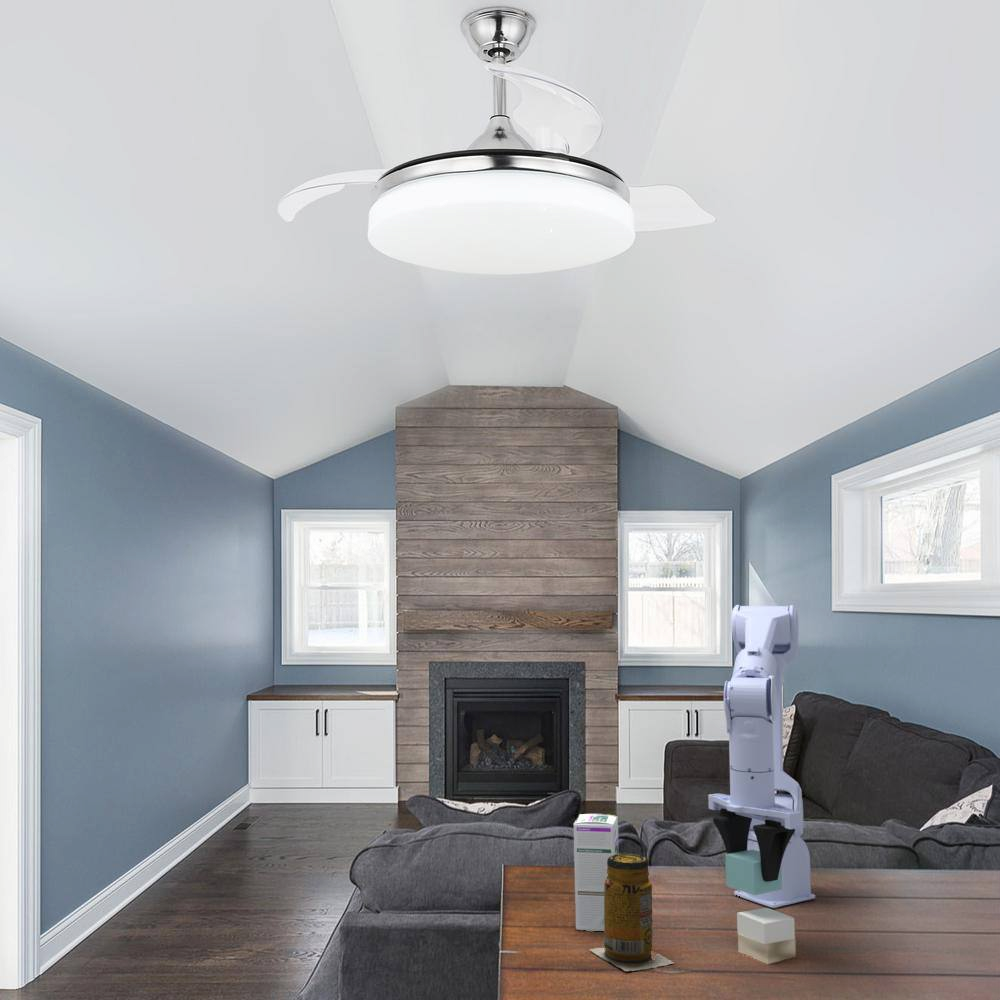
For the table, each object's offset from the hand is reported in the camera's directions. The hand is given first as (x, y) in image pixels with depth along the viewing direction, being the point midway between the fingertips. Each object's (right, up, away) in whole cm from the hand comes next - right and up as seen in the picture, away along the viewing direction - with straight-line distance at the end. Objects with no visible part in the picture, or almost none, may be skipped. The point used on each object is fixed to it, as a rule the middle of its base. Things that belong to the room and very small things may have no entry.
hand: (754, 875), depth 128 cm
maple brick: (+1, -9, -4) cm, 10 cm away
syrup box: (-20, -10, +7) cm, 23 cm away
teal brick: (0, -2, 0) cm, 2 cm away
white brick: (+1, -7, -3) cm, 7 cm away
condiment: (-17, -9, -5) cm, 20 cm away
